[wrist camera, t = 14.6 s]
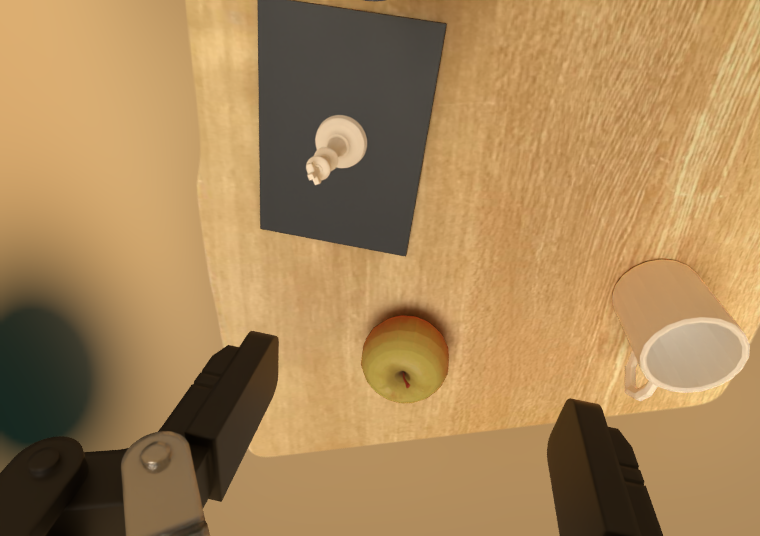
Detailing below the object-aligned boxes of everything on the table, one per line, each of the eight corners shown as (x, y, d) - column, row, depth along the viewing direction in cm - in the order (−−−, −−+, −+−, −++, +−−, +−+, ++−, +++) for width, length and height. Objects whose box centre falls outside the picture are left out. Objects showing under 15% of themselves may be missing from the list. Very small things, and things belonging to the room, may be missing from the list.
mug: (575, 336, 52) (596, 402, 43) (642, 247, 45) (681, 305, 37) (643, 361, 52) (676, 433, 43) (719, 276, 45) (774, 341, 37)
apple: (460, 362, 56) (458, 413, 49) (384, 374, 59) (373, 424, 52) (436, 295, 52) (431, 341, 45) (356, 312, 55) (340, 357, 48)
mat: (259, -5, 40) (257, -5, 39) (446, 23, 38) (446, 23, 38) (262, 226, 51) (260, 228, 51) (406, 254, 50) (405, 256, 50)
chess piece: (328, 172, 46) (295, 213, 38) (308, 124, 44) (269, 155, 36) (374, 158, 45) (351, 197, 36) (356, 107, 43) (327, 136, 34)
